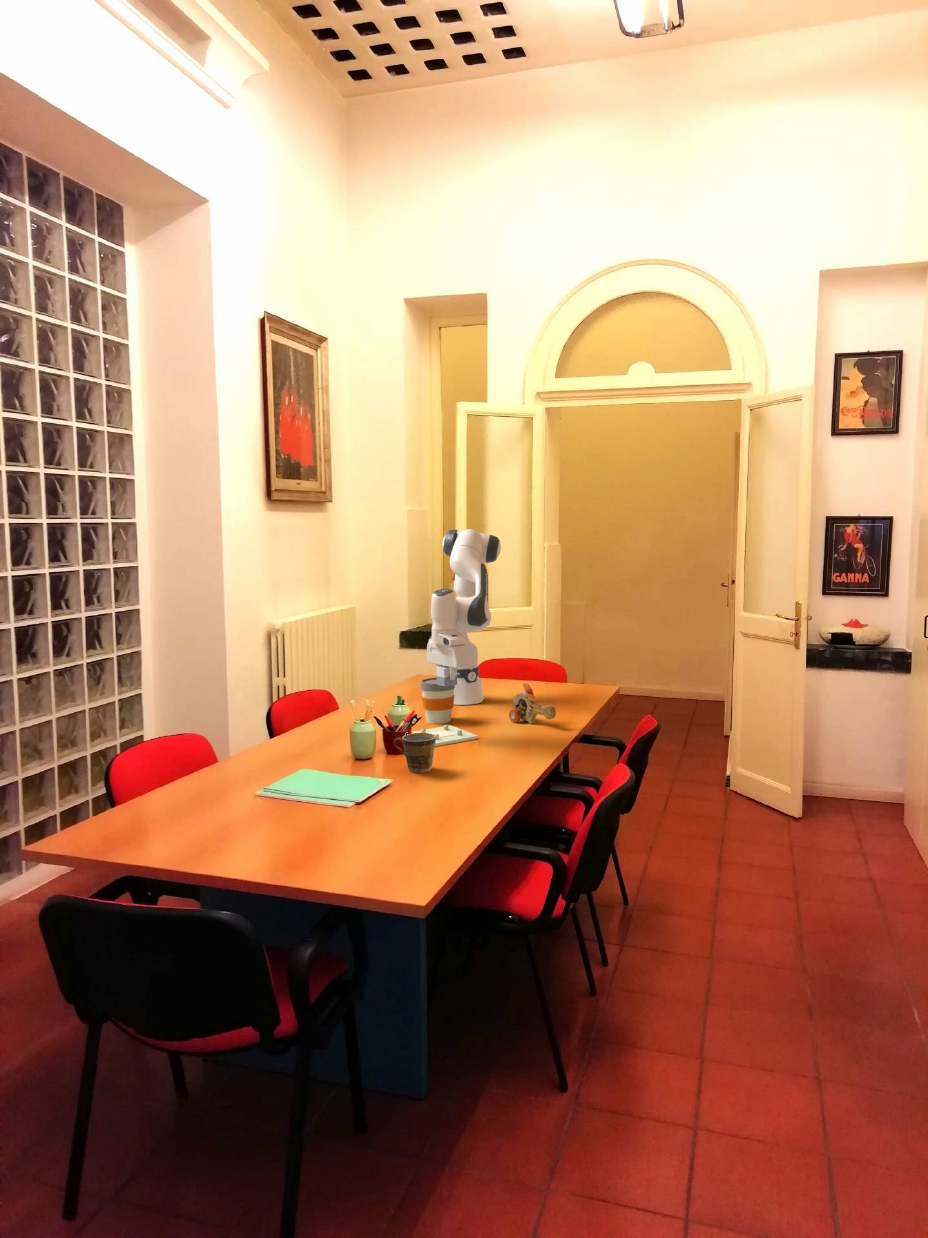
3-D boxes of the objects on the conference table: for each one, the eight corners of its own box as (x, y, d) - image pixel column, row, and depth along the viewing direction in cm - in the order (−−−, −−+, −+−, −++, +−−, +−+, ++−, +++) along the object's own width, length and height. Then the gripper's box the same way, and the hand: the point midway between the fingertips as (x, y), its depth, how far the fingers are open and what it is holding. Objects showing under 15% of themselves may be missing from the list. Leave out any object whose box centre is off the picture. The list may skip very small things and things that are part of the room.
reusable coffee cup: (417, 724, 316) (416, 683, 314) (426, 716, 328) (425, 677, 326) (450, 725, 313) (449, 684, 311) (459, 717, 325) (458, 677, 323)
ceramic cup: (440, 766, 263) (440, 733, 262) (430, 775, 254) (429, 742, 253) (400, 763, 267) (399, 731, 266) (388, 773, 257) (387, 739, 256)
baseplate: (405, 735, 300) (405, 728, 300) (450, 728, 309) (450, 721, 309) (431, 747, 285) (431, 739, 285) (478, 738, 294) (477, 731, 294)
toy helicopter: (523, 717, 323) (522, 681, 321) (563, 727, 307) (562, 689, 305) (506, 721, 318) (506, 684, 316) (546, 731, 302) (545, 692, 300)
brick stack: (436, 684, 296) (436, 667, 296) (449, 682, 299) (448, 665, 298) (444, 686, 292) (443, 668, 291) (457, 684, 295) (456, 667, 294)
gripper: (421, 636, 301) (423, 675, 302) (453, 641, 284) (454, 683, 285) (437, 634, 304) (438, 673, 306) (469, 639, 287) (470, 681, 288)
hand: (446, 678), depth 295 cm, fingers closed on brick stack, 5 cm apart
